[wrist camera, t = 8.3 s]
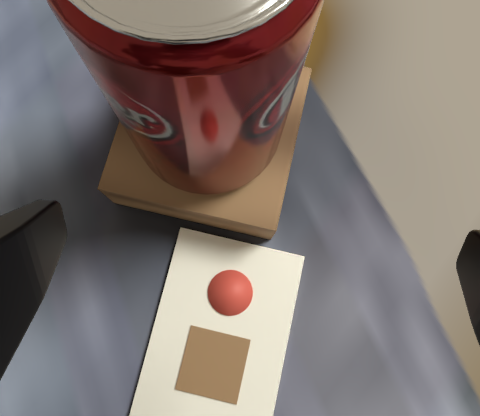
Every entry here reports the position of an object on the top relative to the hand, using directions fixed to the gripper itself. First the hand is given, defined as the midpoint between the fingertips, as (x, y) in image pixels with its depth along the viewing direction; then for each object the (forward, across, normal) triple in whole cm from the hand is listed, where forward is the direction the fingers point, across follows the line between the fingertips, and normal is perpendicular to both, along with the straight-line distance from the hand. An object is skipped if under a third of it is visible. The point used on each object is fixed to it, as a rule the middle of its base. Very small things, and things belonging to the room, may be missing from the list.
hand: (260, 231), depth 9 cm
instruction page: (+7, +1, +12) cm, 14 cm away
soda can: (+12, +3, +3) cm, 13 cm away
